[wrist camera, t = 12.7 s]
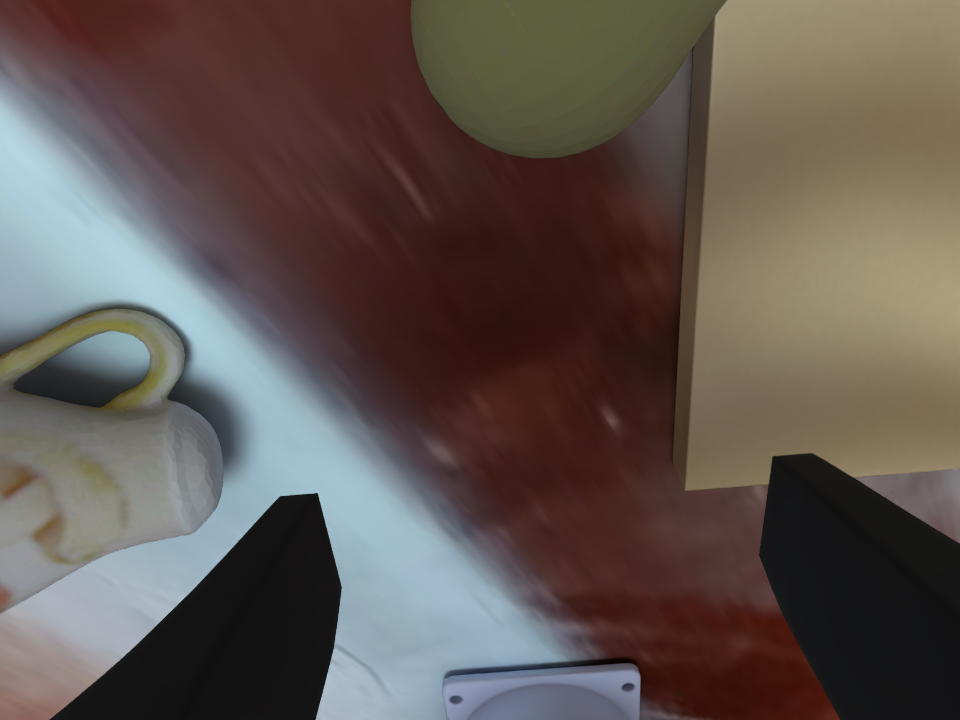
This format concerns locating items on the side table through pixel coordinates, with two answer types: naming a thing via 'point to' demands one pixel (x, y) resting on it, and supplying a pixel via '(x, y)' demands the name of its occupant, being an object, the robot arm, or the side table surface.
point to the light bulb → (552, 65)
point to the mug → (98, 461)
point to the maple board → (821, 241)
